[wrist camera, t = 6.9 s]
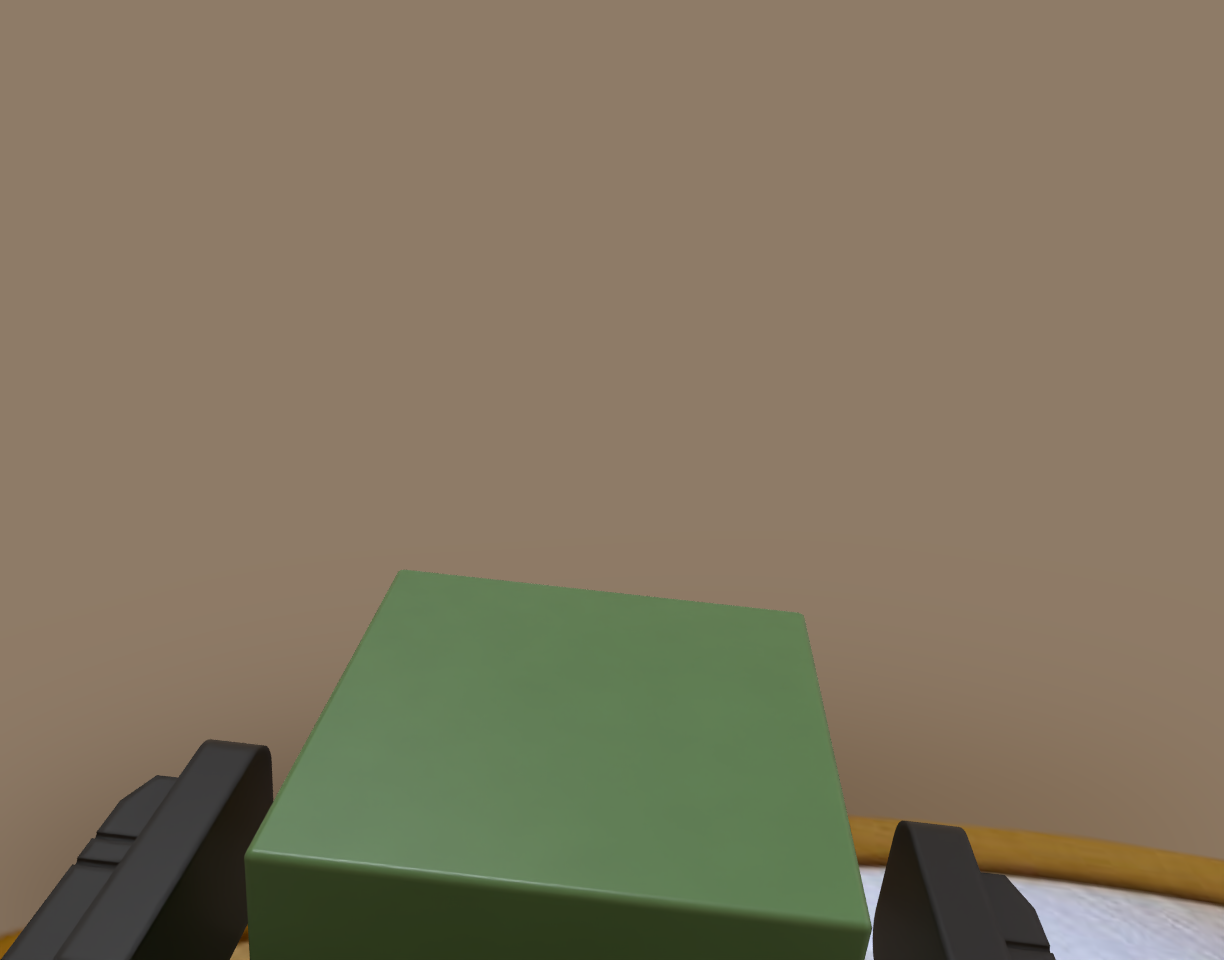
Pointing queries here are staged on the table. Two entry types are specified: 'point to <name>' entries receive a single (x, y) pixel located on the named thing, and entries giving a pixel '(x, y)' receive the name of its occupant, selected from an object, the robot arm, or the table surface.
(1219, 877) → the table surface
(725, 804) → the green block
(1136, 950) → the table surface
